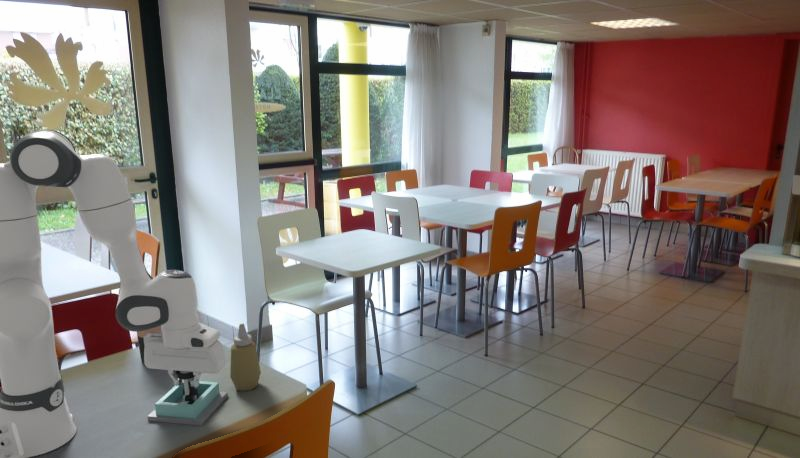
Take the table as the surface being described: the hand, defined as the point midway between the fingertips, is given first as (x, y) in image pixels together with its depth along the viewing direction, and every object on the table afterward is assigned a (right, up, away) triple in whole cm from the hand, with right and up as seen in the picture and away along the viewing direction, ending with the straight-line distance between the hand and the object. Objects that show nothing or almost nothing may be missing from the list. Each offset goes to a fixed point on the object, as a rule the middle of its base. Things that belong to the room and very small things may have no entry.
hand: (186, 385), depth 145 cm
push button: (0, -5, +1) cm, 5 cm away
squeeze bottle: (+12, -4, +12) cm, 17 cm away
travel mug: (-21, 0, +29) cm, 35 cm away
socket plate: (0, -6, +1) cm, 6 cm away
